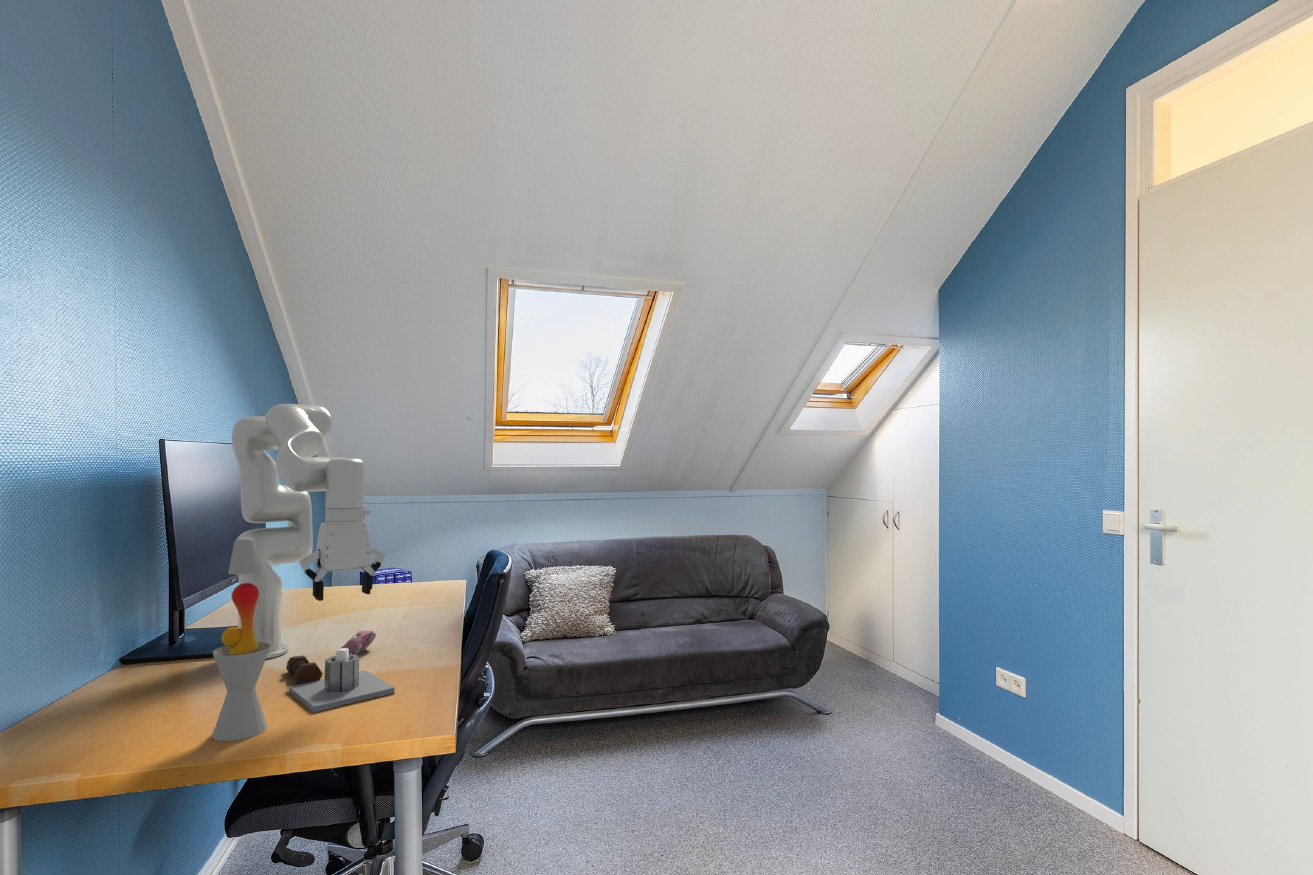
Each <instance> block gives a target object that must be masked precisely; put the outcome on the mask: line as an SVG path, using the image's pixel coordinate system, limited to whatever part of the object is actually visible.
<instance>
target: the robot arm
mask: <svg viewBox="0 0 1313 875" xmlns="http://www.w3.org/2000/svg"><path fill="white" fill-rule="evenodd" d="M332 428H333V418H332V415H331V414H330V412H329V410H327V409H326V408H325V407H324V406H321V405H315V404H298V403H279V404H276V405H273V406H272V407H271V408H269V409H268V411H267V412H266V414H265V416H264V415H263V416H246V417H243V418H240V419H238V420H237V421H236V422H235V424H234V425H233V428H232V432H231V444H232V449H233V453H234V455H235V459H236V461H237V464H238V466H239V474H240V476H239V478H240V479H239V480H240V483H239V484H240V507H241V508H240V509H241V515H242V518H243V519H244V520H245V521H246V522H248V523H251V524H266V523H267V524H269V523H281V522H282V523H284V522H287V524H288V526H282V527H280V526H279V527H275V526H274V527H262V528H253V529H250V530H247V531H244V532H242V533H241V534H240V535H239V536H238V537H237V538H236V539H238V538H253V539H254V542H255V548H256V555H257V561H258V567H259V572H256V573H251V574H238V585H240V584H243V583H251V584H253V585H255V586H256V587H257V588H258V590H259V597H258V600H257V603H256V606H255V610H254V615H253V630H254V636H255V639H256V642H265V643H269V644H270V649H269V652H268V654H267V657H266V660H268V659H272V658H277V657H279V656H282V655H285V654H286V653H287V652H288V650H289V646H288V645H287V644H285V643H282V615H283V582H282V579H281V577H280V576H279V575H278V574H277V572H275V570H274V569H273V566H277V565H278V566H279V565H285V564H286V565H287V564H295V563H296V564H297V563H298V565H299V566H300V567H301V570H302V571H303V574H305V575H306V576H307V577H309V579H310V580H312V596H313V597H314V598H315V600H316V601H319V602H322V601H323V600H324V586H325V583H324V581H323V580H322V579H323V578H324V576H325V575H326V574H327V573H328V572H337V571H348V570H356V569H360V570H362V572H363V573H362V575H361V593H363V594H366V595H371V590H372V589H373V576H375V574H376V572H377V571H378V570H379V568H381V566H382V563H383V561H384V559H385V558H386V553H384V552H382V551H379V550H378V549H375V548H372V547H371V542H370V533H369V527H368V523H367V521H365V518H366V517H367V516H370V515H371V510H370V509H366V507H365V481H366V480H365V475H366V474H365V473H366V471H365V469H366V468H365V467H366V466H365V462H364V461H363V460H362V459H360V458H348V457H344V456H343V457H342V456H341V457H340V456H316V455H317V454H318V453H319V452H320V450H321V448H322V446H323V443H324V440H325V439H327V438H328V437H329V435H330V434H331V432H332ZM267 451H277V452H276V455H275V459H273V458H272V457H271V455H269V454H268V453H267ZM279 477H280V479H281V480H282V481H283V483H284V484H283V485H282V484H280V479H279ZM309 492H325V515H324V516H325V517H324V522H321V523H320V525H319V530H318V533H317V534H318V535H317V540H316V548H315V549H316V550H315V551H314V552H313V548H314V547H313V546H314V545H313V544H314V541H313V540H314V539H313V537H314V535H313V532H314V531H313V511H312V510H313V508H312V501H311V500H312V499H311V495H310V493H309ZM312 552H313V553H312ZM371 556H374V557H375V560H374V562H372V563H371V565H370V562H371ZM313 562H314V563H315V568H316V569H315V570H312V568H311V566H310V565H311V563H313ZM237 615H238V617H237V618H238V619H237V627H239V628H241V629H242V626H241V618H240V615H239V613H238V614H237Z"/></svg>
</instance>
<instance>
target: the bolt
mask: <svg viewBox="0 0 1313 875" xmlns="http://www.w3.org/2000/svg"><path fill="white" fill-rule="evenodd" d="M285 670H286V671H287V673H288V674H289V675H290V676H291V677H292V680H293V681H294V683H295V685H298V684H303V683H308V682H312V681H317V680H322V676H323V674H324V673H323V672H322V670H321V669H320V667H319V666H318V664H317V663H316V662H315V661H312V662H310V661H309V659H308V658H307V656H305V655H298V656H297V655H296V656H295V655H294V656H292V657H290V658H289V659H288V660H287V662H286V667H285Z"/></svg>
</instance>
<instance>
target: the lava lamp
mask: <svg viewBox="0 0 1313 875" xmlns="http://www.w3.org/2000/svg"><path fill="white" fill-rule="evenodd" d="M237 538H238V537H237ZM237 538H236V539H235V540H234V542H233V547H232V552H231V557H230V562H229V567H228V572H227V573H228V574H229V575H235V576H236V575H238V576H239V574H251V573H256V572H259V567H258V561H257V555H256V548H255V542H254V539H253V538H238V539H237ZM258 597H259V590H258V588H257V587H256V586H255V585H253V584H251V583H243V584H240V585H239V584H238V585H237V586H236V587H235V588H234V589H233V590H232V592H231V601H232V602H233V605H234V607H235V608H236V610H237V612H238V613H239V615H240V618H241V626H242V629H241V628H239V627H238V626H231V627H230V626H229V627H228V628H226V629H225V630H224V631H223V632H222V634H221V642H222V643H223V646H220V647H217V648H215V649H214V650H213V651H212V656H213V658H214V661H215V663H216V666H217V669H218V671H219V674H220V677H221V678H222V682H223V685H224V686H225V689H226V695H225V697H224V701H223V704H222V706H221V708H220V712H219V715H218V718H217V720H216V723H215V726H214V728H213V732H212V735H211V738H212V739H213V738H214V739H213V740H214V741H218V742H234V741H235V742H236V741H240V740H241V741H242V740H245V739H250V738H252V737H255V736H258V735H260V734H262V733H263V732H265V731H266V730H267V729H268V727H269V726H268V724H267V720H266V716H265V715H264V711H263V708H262V705H261V702H260V699H259V696H258V693H257V690H256V685H257V683H258V680H259V677H260V675H261V673H262V670H263V668H264V664H265V662H266V660H267V659H266V657H267V654H268V652H269V649H270V644H269V643H265V642H256V639H255V636H254V630H253V615H254V610H255V606H256V603H257V600H258Z"/></svg>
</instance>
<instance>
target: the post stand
mask: <svg viewBox="0 0 1313 875" xmlns="http://www.w3.org/2000/svg"><path fill="white" fill-rule="evenodd" d="M335 656H336V661H340V662H342V661H347V660H348V656H349V649H347V648H342V649H340V648H338V649H336V651H335ZM395 689H396V688H395V686H393V685H392V684H390V683H388V682H386V681H385V680H382V679H381V678H380V677H377V676H376V675H374V674H373V673H371V672H369V671H367V670H366V669H365V670H359V686H357V687H356V688H355V689H352V690H348V691H344V692H328V691H326V690H325V678H323V679H322V678H321V679H320V680H317V681H312V682H308V683H303V684H298V685H297V684H294V685H289V686H288V693H289V692H290V693H291V695H292V696H293V695H294V696H293V697H294V698H295V697H296V698H297V701H298V702H300V701H301V702H300V703H301V704H303V706H305V707H306V708H307V707H308V709H309V710H310V711H311V712H312V713H313V714H315V713H319V712H323V711H327V709H328V710H331V708H332V709H335V708H334V707H336V708H339V707H338V706H340V707H343V705H344V706H346V705H345V704H348V705H352V704H355V703H354V702H356V703H358V702H357V701H360V702H364V701H363V700H365V701H368V700H367V699H369V698H373V699H375V698H374V697H377V698H380V696H381V697H383V696H382V695H385V696H389V695H392V694H391V693H393V694H395V693H396V690H395ZM290 693H289V694H290ZM388 694H389V695H388ZM296 698H295V699H296ZM369 700H370V699H369ZM351 703H352V704H351ZM322 710H323V711H322Z"/></svg>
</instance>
